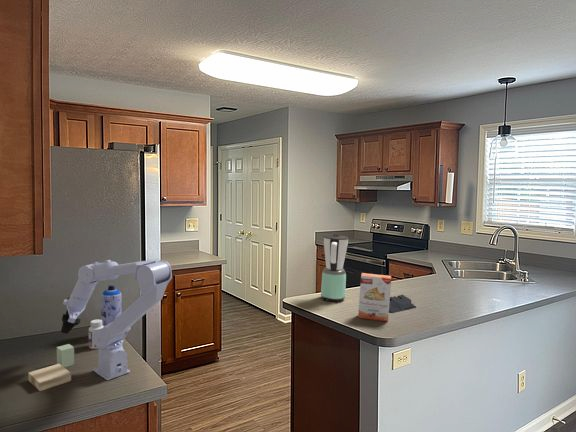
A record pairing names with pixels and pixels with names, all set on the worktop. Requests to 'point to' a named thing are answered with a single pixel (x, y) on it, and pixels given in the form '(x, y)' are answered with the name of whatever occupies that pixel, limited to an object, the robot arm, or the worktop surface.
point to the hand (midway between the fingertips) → (66, 324)
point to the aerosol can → (110, 305)
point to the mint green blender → (334, 268)
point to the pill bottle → (94, 326)
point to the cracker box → (374, 297)
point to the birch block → (49, 377)
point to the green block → (65, 355)
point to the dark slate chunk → (400, 304)
